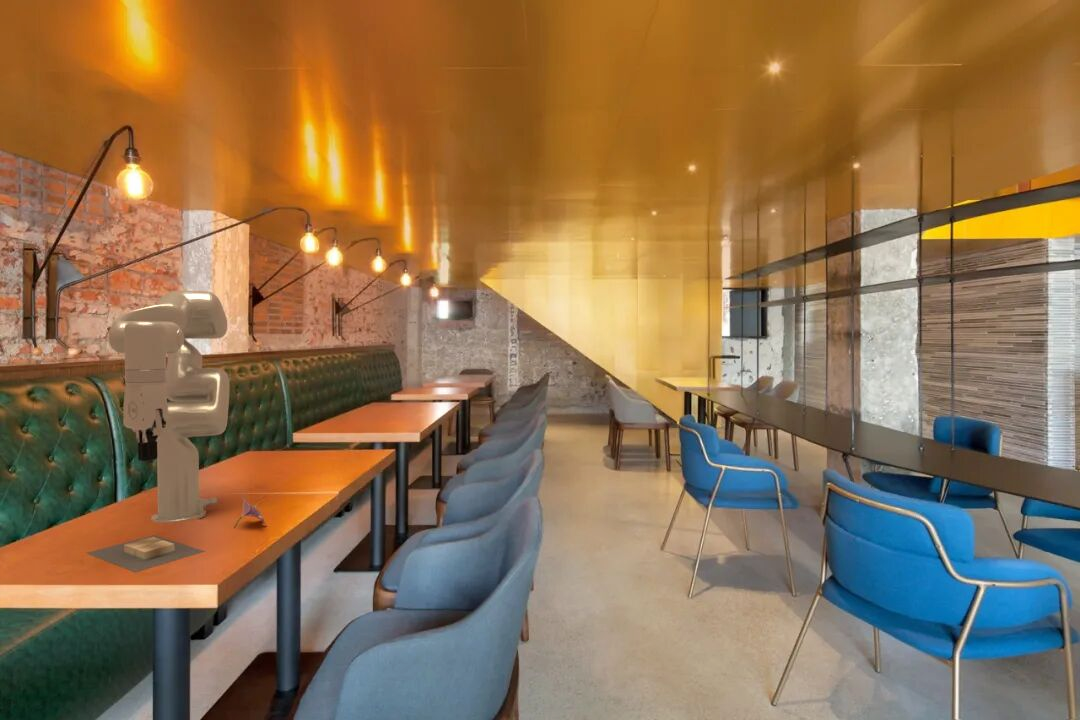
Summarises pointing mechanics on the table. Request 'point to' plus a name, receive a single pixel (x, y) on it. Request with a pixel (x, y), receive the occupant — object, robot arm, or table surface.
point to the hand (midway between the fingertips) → (147, 459)
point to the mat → (133, 564)
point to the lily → (250, 511)
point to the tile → (149, 549)
